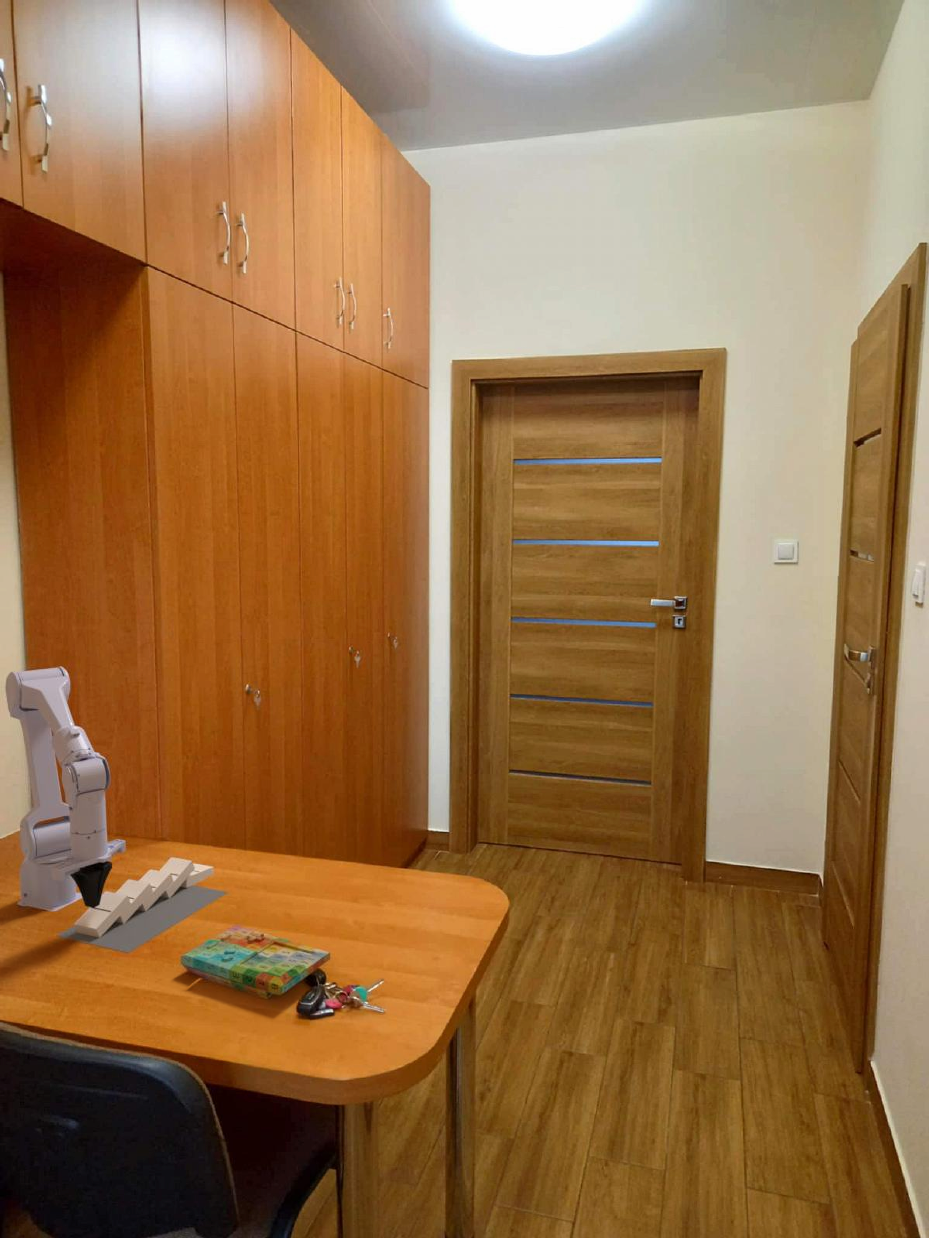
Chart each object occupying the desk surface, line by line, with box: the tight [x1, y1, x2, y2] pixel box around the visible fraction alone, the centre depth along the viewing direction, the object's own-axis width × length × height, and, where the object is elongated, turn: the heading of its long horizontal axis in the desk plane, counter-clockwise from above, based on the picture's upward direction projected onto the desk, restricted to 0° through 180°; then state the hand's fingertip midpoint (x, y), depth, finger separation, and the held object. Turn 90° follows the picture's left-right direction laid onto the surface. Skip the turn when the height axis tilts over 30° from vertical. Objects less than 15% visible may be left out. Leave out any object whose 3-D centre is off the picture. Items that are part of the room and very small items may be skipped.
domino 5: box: [180, 862, 215, 888], centre depth 175 cm, size 2×5×8 cm
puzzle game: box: [180, 924, 331, 1000], centre depth 139 cm, size 12×5×20 cm
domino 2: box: [115, 878, 153, 924], centre depth 159 cm, size 2×5×8 cm
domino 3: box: [137, 869, 174, 912], centre depth 164 cm, size 2×5×8 cm
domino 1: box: [73, 890, 131, 938], centre depth 154 cm, size 2×5×8 cm
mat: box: [55, 885, 229, 954], centre depth 160 cm, size 16×26×1 cm, turn 157°
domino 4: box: [159, 856, 195, 899], centre depth 170 cm, size 2×5×8 cm
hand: (92, 905), depth 152 cm, fingers closed
